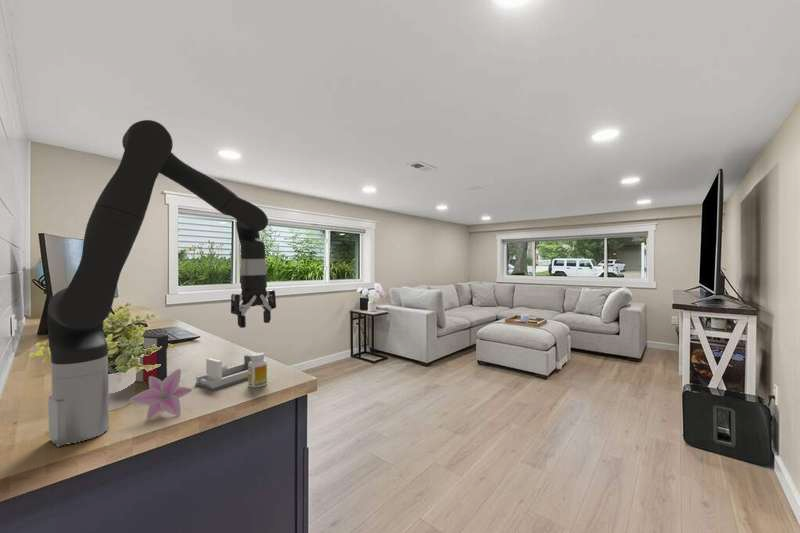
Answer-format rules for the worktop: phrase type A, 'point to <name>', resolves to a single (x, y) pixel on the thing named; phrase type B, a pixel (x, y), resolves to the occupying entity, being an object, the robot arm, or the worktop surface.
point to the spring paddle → (214, 369)
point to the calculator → (154, 358)
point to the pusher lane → (226, 376)
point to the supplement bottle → (257, 370)
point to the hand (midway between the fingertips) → (255, 325)
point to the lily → (162, 395)
